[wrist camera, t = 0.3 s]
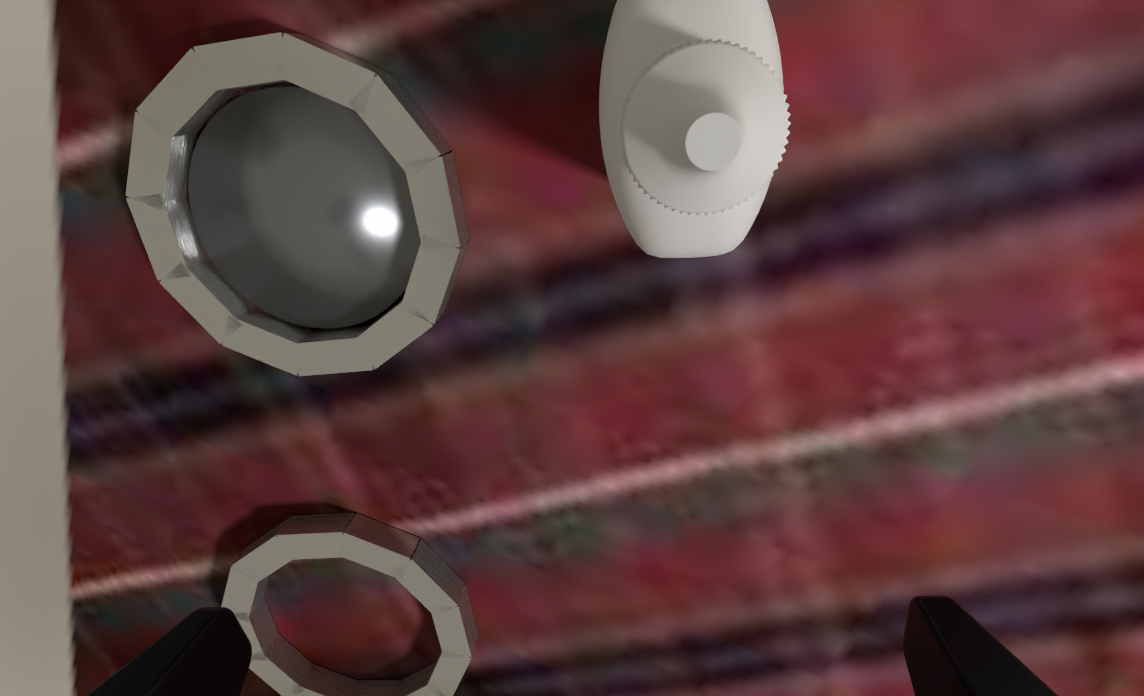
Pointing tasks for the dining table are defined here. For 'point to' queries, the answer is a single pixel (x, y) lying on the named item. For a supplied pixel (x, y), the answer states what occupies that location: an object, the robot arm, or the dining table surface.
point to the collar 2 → (372, 544)
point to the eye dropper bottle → (691, 120)
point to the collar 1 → (296, 203)
